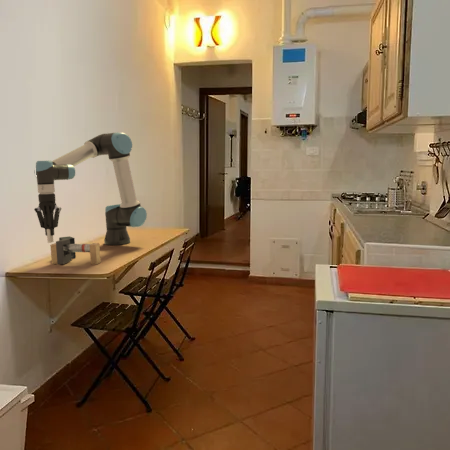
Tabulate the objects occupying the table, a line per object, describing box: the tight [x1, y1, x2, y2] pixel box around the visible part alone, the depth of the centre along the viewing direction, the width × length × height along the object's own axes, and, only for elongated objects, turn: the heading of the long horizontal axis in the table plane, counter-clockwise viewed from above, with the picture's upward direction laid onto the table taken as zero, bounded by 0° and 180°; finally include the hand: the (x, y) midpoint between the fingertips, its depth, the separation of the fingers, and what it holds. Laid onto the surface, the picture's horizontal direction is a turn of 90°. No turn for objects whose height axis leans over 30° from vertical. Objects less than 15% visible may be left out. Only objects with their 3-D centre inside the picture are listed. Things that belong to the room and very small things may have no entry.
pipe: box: [50, 242, 102, 265], centre depth 225 cm, size 23×4×10 cm, turn 81°
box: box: [58, 236, 77, 260], centre depth 240 cm, size 8×6×11 cm
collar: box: [55, 239, 72, 265], centre depth 226 cm, size 3×8×11 cm, turn 171°
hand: (50, 242), depth 227 cm, fingers closed
